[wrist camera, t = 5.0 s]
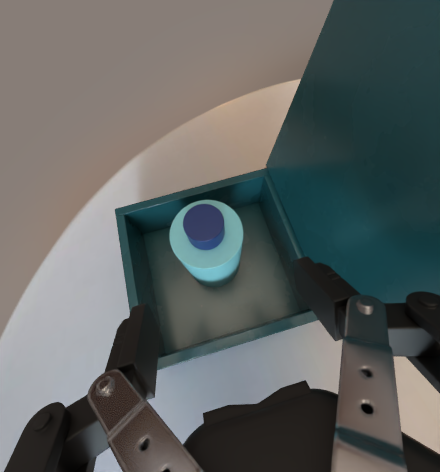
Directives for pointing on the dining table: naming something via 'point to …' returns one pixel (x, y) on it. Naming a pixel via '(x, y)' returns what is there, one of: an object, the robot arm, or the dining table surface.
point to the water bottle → (208, 241)
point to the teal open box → (214, 298)
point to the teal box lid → (368, 148)
